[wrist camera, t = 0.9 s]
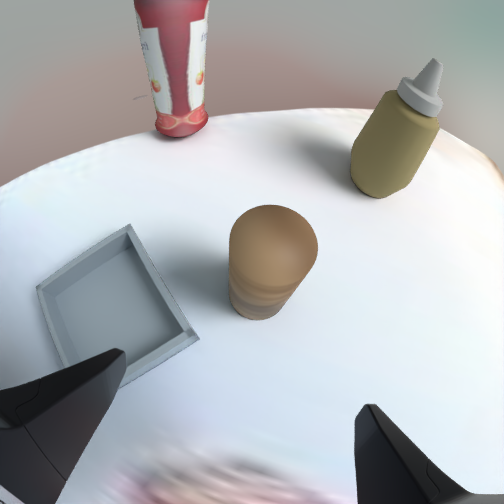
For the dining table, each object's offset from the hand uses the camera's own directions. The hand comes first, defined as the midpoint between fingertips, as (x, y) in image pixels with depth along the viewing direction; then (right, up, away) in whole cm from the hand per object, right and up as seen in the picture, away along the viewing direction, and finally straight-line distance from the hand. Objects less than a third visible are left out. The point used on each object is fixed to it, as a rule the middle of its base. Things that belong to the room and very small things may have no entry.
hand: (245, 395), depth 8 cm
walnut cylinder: (+1, +1, +15) cm, 15 cm away
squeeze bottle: (+15, +14, +23) cm, 30 cm away
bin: (-12, -1, +13) cm, 18 cm away
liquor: (-9, +21, +24) cm, 33 cm away
